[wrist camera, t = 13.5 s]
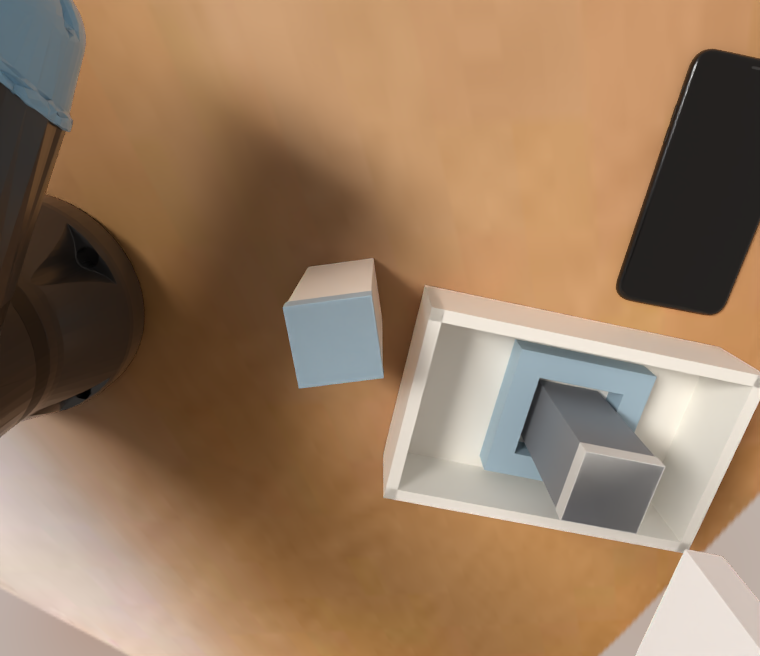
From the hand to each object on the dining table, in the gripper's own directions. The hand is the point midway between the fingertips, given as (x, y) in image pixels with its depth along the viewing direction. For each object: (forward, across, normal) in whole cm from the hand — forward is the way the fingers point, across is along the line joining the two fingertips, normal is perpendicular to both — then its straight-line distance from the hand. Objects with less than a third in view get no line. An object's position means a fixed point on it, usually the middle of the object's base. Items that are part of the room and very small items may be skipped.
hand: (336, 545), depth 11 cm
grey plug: (+28, +16, -8) cm, 33 cm away
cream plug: (+29, -1, -3) cm, 29 cm away
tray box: (+29, +15, -8) cm, 33 cm away
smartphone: (+29, +21, +9) cm, 37 cm away
